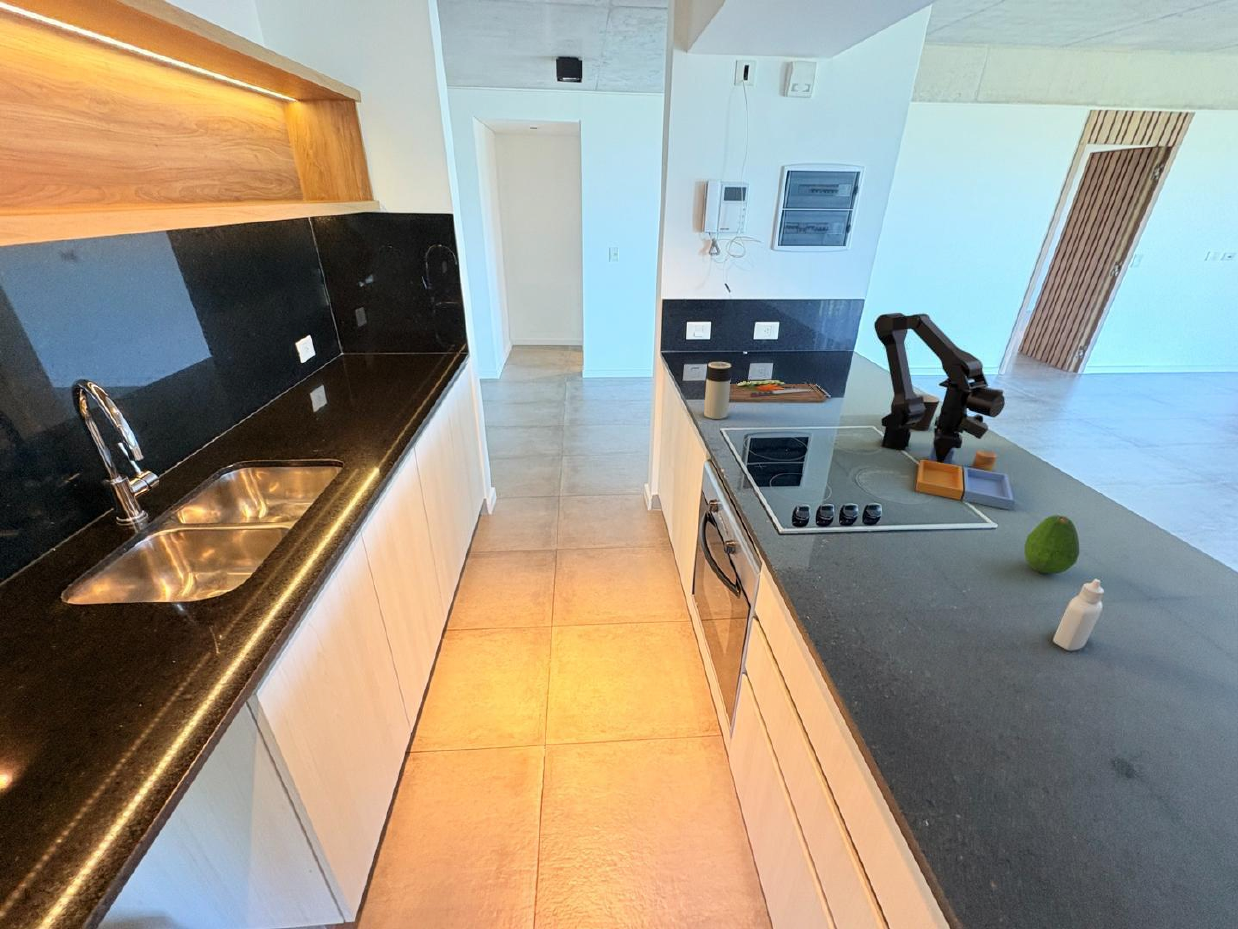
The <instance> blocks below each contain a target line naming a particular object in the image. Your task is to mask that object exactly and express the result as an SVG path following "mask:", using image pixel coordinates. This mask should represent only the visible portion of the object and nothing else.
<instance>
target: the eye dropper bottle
mask: <svg viewBox="0 0 1238 929" xmlns="http://www.w3.org/2000/svg"><path fill="white" fill-rule="evenodd" d="M1104 594H1105V590H1104V589H1103V587H1102V586H1101V580H1100V579H1097V578H1094V579H1093V580H1092V582H1089V583H1088V582H1087V583H1084V584H1083V585H1082V587H1081V590H1080V591H1079V594H1078V595H1075V596H1074V597H1073V598H1072V599H1070V601H1069V603H1068V605H1067V607H1066V609H1065V612H1064V613H1063V616H1062V618H1061V620H1060V623H1059V626H1058V627H1057V630H1056V632H1055V634H1054V636H1053V643H1054V644H1055V645H1057V646H1059V647H1060V648H1062V649H1063V650H1065V651H1070V652H1071V651H1072V652H1073V651H1078V650H1080V649H1083V647H1084V646H1085V645H1086V644H1087V642H1088V640H1089V638H1090V635H1091V633H1092V631H1093V629H1094V627H1095V625H1096V623H1097V621H1098V619H1099V617H1100V615H1101V613H1102V610H1103V603H1102V601H1101V600H1102V598H1103V595H1104Z"/></svg>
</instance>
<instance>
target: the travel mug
mask: <svg viewBox="0 0 1238 929" xmlns="http://www.w3.org/2000/svg"><path fill="white" fill-rule="evenodd" d="M731 367H732V364H731V363H729V362H724V361H712V362H709V363H708V371H707V373H706V381H705V382H706V383H705V394H704V396H705V397H704V410H703V415H704V417H706V418H709V419H711V420H723V419H726V418H727V417H728V414H729V404H730V402H729V393H730V382H731V379H732V373H731V371H730V370H731Z"/></svg>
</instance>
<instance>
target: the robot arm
mask: <svg viewBox="0 0 1238 929" xmlns="http://www.w3.org/2000/svg"><path fill="white" fill-rule="evenodd" d="M873 324H874V325H873V327H874V328H873V329H874V330H875V334H876V336H877V339H878V341H880V342H881V344H882V345H883V346H884V348H885V352H886V353H885V354H886V359H887V364H888V369H889V373H890V374H889V375H890V380H891V385H892V391H893V397H892V401H891V404H890V413H889V414H887V415H885V416H883V417H882V418H881V419H880V420H881V426H882V427H885V428H884V429H885V430H884V432H883V433H884V434H883V437H882V441H881V444H880V446H881V447H884V448H887V449H894V450H899V451H906V448H907V447H908V448H909V443H910V439H911V435H912V431H911V429H910V426H915V424H916V423H917V422H918V421H920V420H921V419H922V417H923V416H924V410H926V408H925V406H924V398H923V396H917V395H916V394H917V393H915V392H914V389H913V388H914V387H913V382H912V377H911V371H910V367H909V362H908V361H909V360H908V355H907V349H906V346H905V345H906V344H905V341H906V338H907V334H908V333H909V332H908V330H912V331H913V332H914V334H916V335H917V336H918V338H920V339H921V341H922V342H923V343H924V344H925V345H926V346H927V347H928V349H930V350H931V351H932V353H934V354H935V356H936V357H937V358H938V359H939V361H940V363H941V368H942V370H943V372H944V373H945V374H946V376H947V378H946V379H945V380H943V381H941V382H939V384H938V386H939V387H942V388H946V390H945V392H944V397H943V401H942V404H941V406H940V412H939V415H938V416H936V417H935V420H934V428H933V434H934V435H933V438H932V439H933V440H932V445H933V444H934V448H935V452H936V458H937V462H940V463H943V461H944V460H945V458H946V456H947V455H948V453H949V451H950V450H951V449H952V448H954V449H959V450H960V449H961V448H962V445H963V437H962V435H961V434H963V433H964V432H965V433H968V434H969V435H971V436H973V437H974V438H975V439H978V440H981V439H982V438H983V436H984V435H985V434H986V433H987V431H988V430H989V425H988V424H987V423H986V422H984V416H986V417H990V418H996V417H998V416H999V415H1000V414H1001V413H1002V411H1003V410H1004V408H1005V405H1006V402H1005V400H1006V398H1005V396H1004V390H1003V389H1000V388H992V387H989V383H988V381H987V378H986V376H985V373H984V371H983V368H984V364H983V362H982V361H981V360H980V359H979V358H977V357H976V356H975V355H973V354H972V353H970V352H967V351H966V350H963V349H960V347H958V346H957V345H956V344H955V343H954V342H953V340H951V339H950V337H948V335H946V333H944V332H943V331H942V330H941V329H940V328H939V326H937V324H936V323H935V322H934V321H933V320H932V319H931V317H930V315H929V314H927V313H925V312H924V313H916V314H911V315H905V314H904V313H902V312H893V313H885V314H880V315H878V317H877V318H876V320H875V321H874V322H873ZM968 411H970V412H973V413H975V415H970V416H969V415H968Z"/></svg>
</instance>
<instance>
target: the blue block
mask: <svg viewBox="0 0 1238 929" xmlns="http://www.w3.org/2000/svg"><path fill="white" fill-rule="evenodd" d="M954 453H955V448H952V449H951V450H950V451H949V453H948V455H947V456H946V458H945V460H944V461H943V463H945V464H951V465H952V460H953V457H954ZM928 461H934V462H937V458H936V452H935V448H934V444H933V443H932V446H931V449H930V453H929V457H928Z"/></svg>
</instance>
